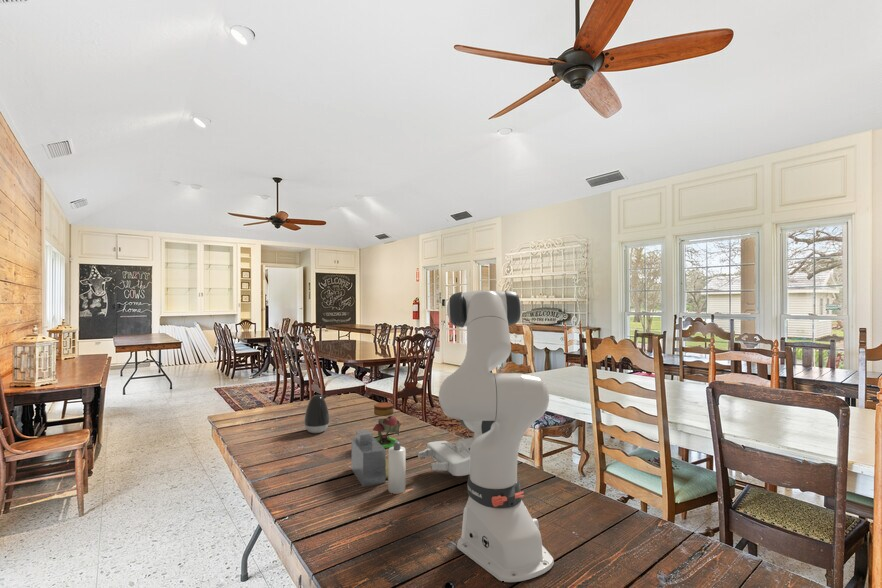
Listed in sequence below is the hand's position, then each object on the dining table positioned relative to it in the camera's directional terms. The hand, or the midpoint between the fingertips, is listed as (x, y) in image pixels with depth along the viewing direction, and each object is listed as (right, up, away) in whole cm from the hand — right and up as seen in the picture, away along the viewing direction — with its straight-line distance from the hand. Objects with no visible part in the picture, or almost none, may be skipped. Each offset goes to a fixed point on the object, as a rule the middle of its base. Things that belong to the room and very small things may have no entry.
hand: (425, 461), depth 128 cm
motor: (-16, -7, +8) cm, 19 cm away
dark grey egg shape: (-47, -7, +48) cm, 68 cm away
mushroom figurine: (-17, -7, +34) cm, 39 cm away
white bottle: (-8, -7, -4) cm, 11 cm away
